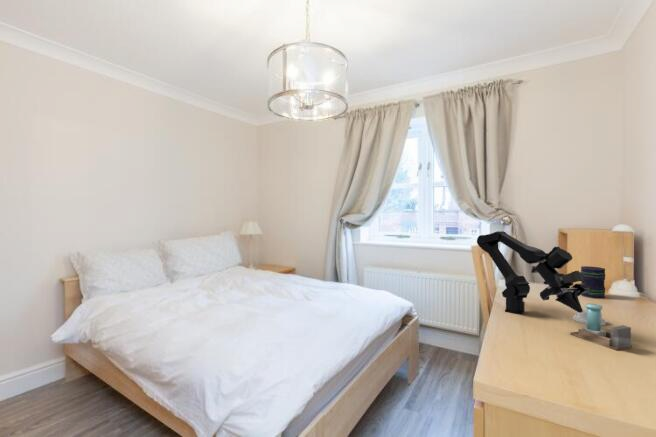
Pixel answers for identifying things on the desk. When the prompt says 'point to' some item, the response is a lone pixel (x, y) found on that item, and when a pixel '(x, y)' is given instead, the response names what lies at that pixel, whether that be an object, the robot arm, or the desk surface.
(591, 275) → the storage jar
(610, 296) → the desk surface
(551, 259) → the robot arm
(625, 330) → the mount
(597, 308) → the knob
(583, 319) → the mechanical component
